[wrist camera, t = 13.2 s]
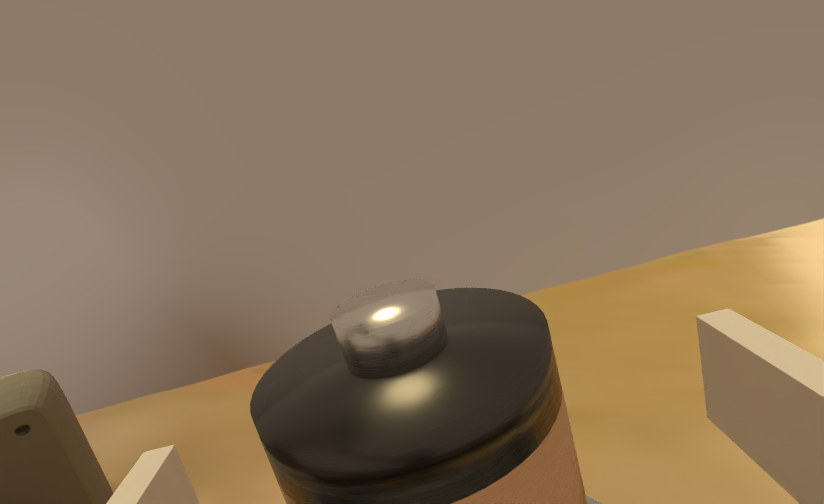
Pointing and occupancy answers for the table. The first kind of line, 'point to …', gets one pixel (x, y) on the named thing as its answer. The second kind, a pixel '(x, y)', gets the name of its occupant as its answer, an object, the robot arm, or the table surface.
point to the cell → (421, 403)
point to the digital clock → (44, 446)
